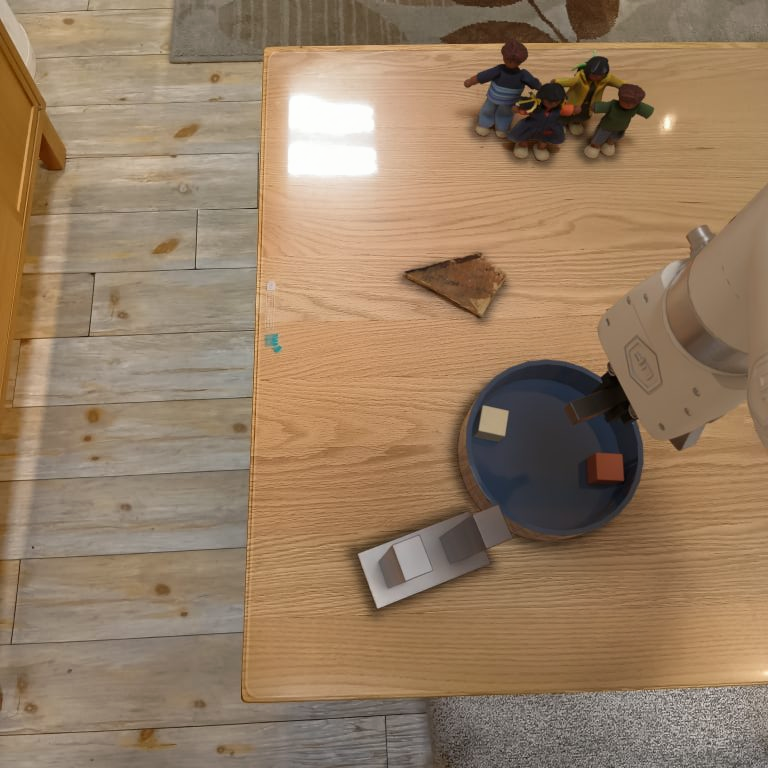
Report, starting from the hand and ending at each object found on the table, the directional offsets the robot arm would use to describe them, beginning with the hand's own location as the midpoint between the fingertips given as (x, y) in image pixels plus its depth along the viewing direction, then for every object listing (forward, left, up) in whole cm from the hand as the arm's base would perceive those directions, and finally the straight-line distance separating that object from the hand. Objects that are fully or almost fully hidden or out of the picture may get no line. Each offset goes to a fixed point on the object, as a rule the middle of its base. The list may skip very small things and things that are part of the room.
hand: (615, 401), depth 57 cm
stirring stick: (0, 0, +1) cm, 1 cm away
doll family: (+40, -19, -22) cm, 50 cm away
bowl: (0, 0, -22) cm, 22 cm away
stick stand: (-6, +17, -22) cm, 28 cm away
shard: (+22, +1, -22) cm, 31 cm away
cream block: (+5, +4, -21) cm, 22 cm away
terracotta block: (-4, -5, -21) cm, 22 cm away
